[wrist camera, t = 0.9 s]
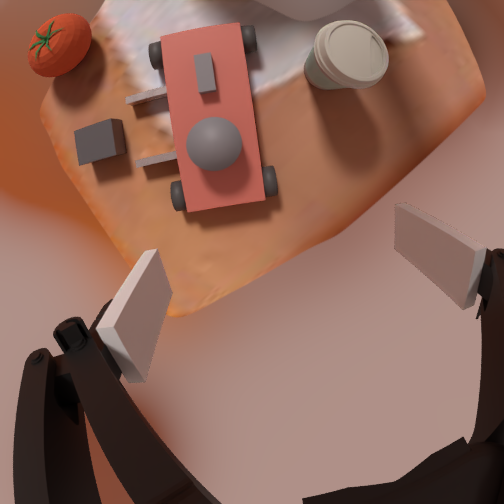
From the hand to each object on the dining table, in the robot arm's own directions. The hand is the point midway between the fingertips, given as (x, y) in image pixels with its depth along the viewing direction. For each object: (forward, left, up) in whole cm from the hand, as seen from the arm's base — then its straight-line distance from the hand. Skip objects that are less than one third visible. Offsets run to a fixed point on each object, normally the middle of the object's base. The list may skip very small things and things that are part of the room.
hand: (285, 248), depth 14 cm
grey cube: (-10, -20, -26) cm, 34 cm away
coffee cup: (-15, +12, -26) cm, 32 cm away
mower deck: (-10, -4, -26) cm, 28 cm away
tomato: (-27, -24, -26) cm, 44 cm away
